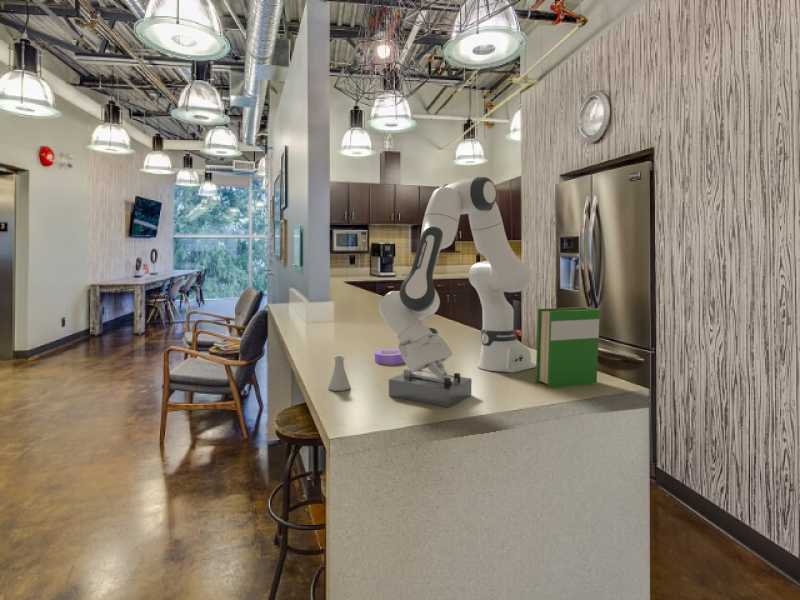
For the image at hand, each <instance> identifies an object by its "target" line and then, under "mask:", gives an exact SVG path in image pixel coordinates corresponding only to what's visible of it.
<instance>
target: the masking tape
mask: <svg viewBox="0 0 800 600" xmlns="http://www.w3.org/2000/svg"><path fill="white" fill-rule="evenodd" d="M374 362H375V363H376V364H379V365H387V366H388V365H389V366H390V365H400V364H403V363H405V362H404V360H403V358H402V356H401V353H400V350H399V349H397V348H387V349H386V348H385V349H378V350H376V351H374Z"/></svg>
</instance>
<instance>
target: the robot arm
mask: <svg viewBox="0 0 800 600" xmlns="http://www.w3.org/2000/svg"><path fill="white" fill-rule="evenodd" d="M497 195H498V193H497V187H496V185H495V183H494V182H493V181H492V180H491V179H490V178H489V177H486V176H476V177H473V178H465V179H460V180H458V181H454V182H450V183H446V184H443V185H442V186H440V187H438V188H437V189H435V190H434V191H433V192H432V194H431V196H430V199H429V200H428V204H427V206H426V210H425V212H424V216H423V220H422V225H421V233H420V239H419V243H418V246H417V249H416V252H415V256H414V258H413V259H414V260H413V264H412V266H411V269H410V270H409V273H408V275H407V276H406V277H405V279H404V280H403V281H402V283H401V285H400V286H399V287H400V289H399V290H396V291H395V290H392V291H391V290H390V291H389V292H388V293H386V294H385V295H384V296H383V297H382V298H381V300H379V301H380V302H379V304H378V312H379V313H380V316H381V317H382V319H383V321H384V322H385V324H386V325H387V327H388V328H389V329H390V330H391V331H392V332H393V333H394V334H395V337H396V339H397V341H398V342H399V343H398V350H400V353H401V356H402V358H403V360H404V362H403V363H405V365H406V367H407V368H408V369H409V370H411V371H412V372H416V371H419V370H422V371H423V370H425V369H428V370H429V372H433V373H434V374H436V375H437V377H438V378H442V377H444V376H446V375H448V371H447V370H446V369H445V365H444V362H446V361H448V360H449V359H450V358H451V357H452V356H453V353H452V352H453V351H452V349H451V348H450V347H449V345H448V344H447V343H446V341H445V340H444V339H443V338H442V336H440V335H439V334H440V332H439V331H438V329H437V328H435V327H430V326H427V325H424V324H423V322H422V321H424V320H426V319H428V318H429V317H431V316H434V314H435V313H437V312H438V310H439V308H440V305H441V299H440V296H439V293H438V292H437V290H436V288H435V284H434V279H433V278H434V277H433V276H434V273H435V268H436V264H437V261H438V258H439V254H440V252H441V250H444V249H446V248H448V247H450V246H451V245H452V244H453V242H454V240H455V238H456V236H457V233H458V228H459V223H460V218H461V215H468V220H469V226H470V230H471V235H472V238H473V241H474V242H473V243H474V247H475V249H476V251H477V253H479V254H480V255H482V256H483V257H484V258H485V259H486V260H483V261H479V262H476V263H474V264H472V266H471V267H470V269H469V272H468V280H469V283H470V284H471V286H472V287H473V288H474V289H475V290H476V292H477V294H478V298H479V300H480V304H481V308H482V309H481V310H482V328H481V333H480V338H481V348H480V354H479V359H478V362H477V368H479V369H482V370H485V371H491V372H505V373H518V372H522V371H525V370H530V369H532V368H536V362H535V361H533V360H532V357H531V351H530V349H529V348H528V347H527V346H526V345H525V344H523V343H522V342H521V341H519V340H518V337H517V336H519V337H521V336H522V335H523V332H522V330H519V329H516V330H515V329H514V316H515V315H514V314H515V313H514V312H515V311H514V308H513V305H512V304H510V302H508V300H507V298H506V296H505V294H504V293H518V292H524V291H525V290H527V289H528V288H529V286H530V284H531V282H532V277H533V276H532V271H531V269H530V267H529V266H528V265H527V264H526V263H524V262H523V261H522V260H521V259H519V257H518V256H517V255H516V253H515V252H514V251H513V249H512V247H511V245H510V243H509V240H508V237H507V235H506V234H507V233H506V231H505V227H504V222H503V218H502V215H501V212H500V209H499V206H498V204H497V201H496V200H497V197H498V196H497Z"/></svg>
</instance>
